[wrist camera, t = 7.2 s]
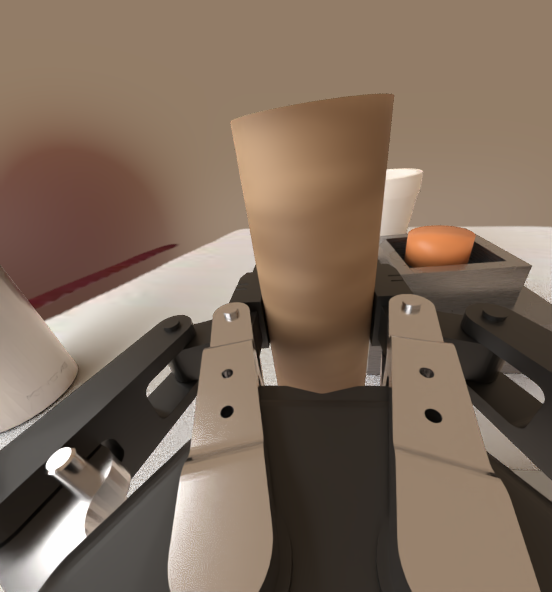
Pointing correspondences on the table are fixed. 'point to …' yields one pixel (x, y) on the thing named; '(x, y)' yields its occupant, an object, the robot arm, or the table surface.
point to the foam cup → (399, 199)
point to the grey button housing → (466, 285)
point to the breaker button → (438, 246)
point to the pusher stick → (316, 230)
